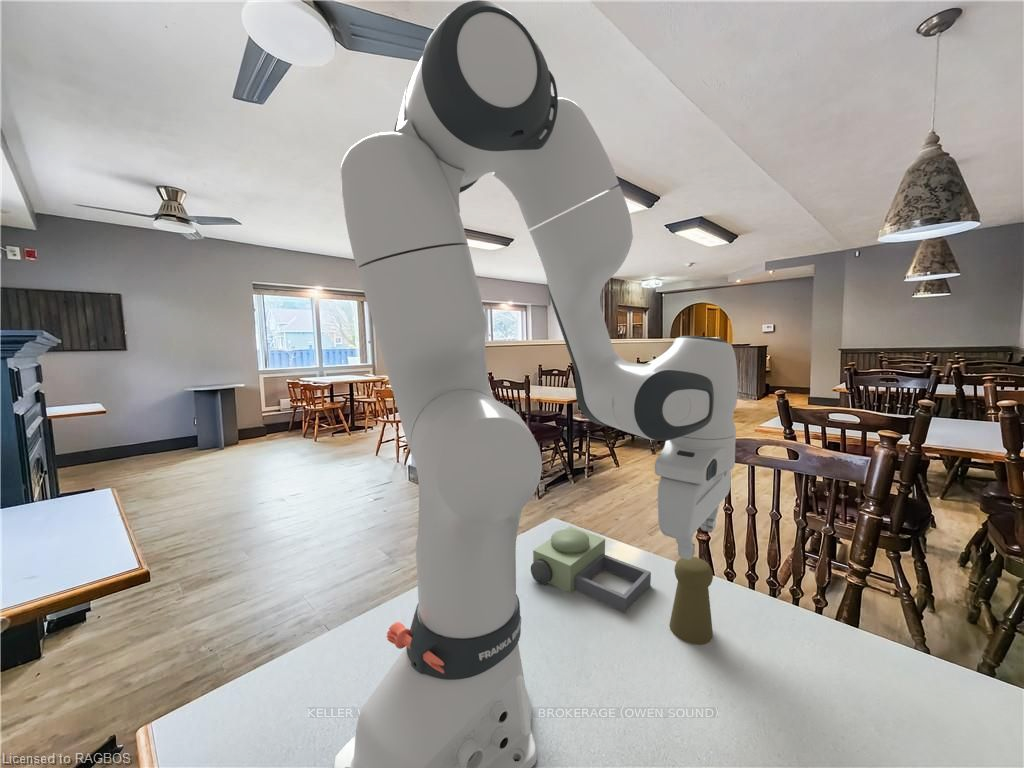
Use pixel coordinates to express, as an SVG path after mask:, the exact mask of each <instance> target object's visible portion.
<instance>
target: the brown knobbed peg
mask: <svg viewBox="0 0 1024 768" xmlns="http://www.w3.org/2000/svg"><path fill="white" fill-rule="evenodd" d="M674 574H675V579H676V580H677V584H676V585H677V586H676V589H675V594H674V595H675V596H674V600H673V605H672V609H671V615H670V620H669V629H670V632H671V633H672V634H673V636H675V637H676V638H678V639H679V640H680V641H682V642H685V643H687V644H691V645H697V646H699V645H706V644H708V643H710V642H711V641H712V640H713V636H714V632H713V631H714V630H713V623H712V621H713V619H712V611H711V601H710V591H709V587H710V586H711V585H712V582H713V578H714V573H713V570H712V567H711V566H710V564H709V563H708V562H707V561H706V560H704V559H702V558H699V557H697V556H693V557H692V558H691V559H690V560H687V559H684V558H681V557H679V559H678V560H676V563H675V565H674Z"/></svg>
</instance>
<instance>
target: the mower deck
mask: <svg viewBox="0 0 1024 768" xmlns="http://www.w3.org/2000/svg"><path fill="white" fill-rule="evenodd" d="M532 553H533V559H532V560H533V563H532V564H531V565H530V573H531V576H532V578H533V579H534V581H536V582H537V584H540V585H546V584H547V583H548V584H551V585H552V586H555V587H556V588H559V589H560V590H563V591H565V592H567V593H569V594H571V593H573V592H574V591H575V592H578V593H581V594H582V595H585V596H586V597H589V598H591V599H594V600H596V601H597V602H601V603H603V604H604V605H606V606H608V607H611V608H613V609H615V610H617V611H620V612H622V613H624V614H626V613H627V612H628V611H629V610H630V609H631V608H632V606H633V605H634V604H635V603H636V602H637V601H638V600H639V598H641V597H642V595H644V593H645V592H646V591H647V590H648V589H649V587H650V586H651V583H652V582H651V581H652V580H651V579H652V572H651V571H649V570H647V569H644V568H641V567H638V566H636V565H633V564H631V563H629V562H625V561H623V560H620V559H618V558H615V557H612V556H609V555H606V538H605V537H601V536H598V535H595V534H593V533H591V532H586V531H584V530H581V529H578V528H575V527H573V526H568V527H567V528H565V529H560V530H557V531H554V533H552V535H551V537H550V539H549V540H547V541H545V542H544V543H542V544H540V545H539V546H538V547H536V548H535V549H533V551H532ZM602 571H607V572H609V573H612V574H614V575H617V576H619V577H621V578H625V579H627V580H629V581H631V582H634V583H633V584H632V585H631V586H630V587H629V588H628V589H627V590H626V591H625V592H624V593H622V592H619V591H617V590H615V589H612V588H610V587H607V586H605V585H603V584H600V583H599V582H595V581H593V579H594V578H596V577H597V575H599V574H600V573H601V572H602Z"/></svg>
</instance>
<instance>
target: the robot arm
mask: <svg viewBox="0 0 1024 768" xmlns="http://www.w3.org/2000/svg"><path fill="white" fill-rule="evenodd" d="M557 88H558V87H557V84H556V80H555V77H554V75H553V73H552V72H551V71H550V69H549V66H548V64H547V61H546V59H545V57H544V54H543V51H542V49H541V48H540V46H539V44H538V43H537V41H536V40H535V38H534V37H533V35H532V34H531V33H530V31H529V30H528V29H527V27H526V26H525V25H524V24H523V22H522V21H520V20H519V19H518V17H516V16H515V15H514V14H513V13H512V12H510V11H509V10H507V9H506V8H505V7H503V6H501V5H499V4H497V3H494V2H491V1H488V0H470V1H467V2H465V3H462V4H460V5H459V6H457V7H456V8H454V9H452V10H451V11H450V12H448V14H447V15H446V16H445V17H443V19H441V21H440V22H439V23H438V24H437V26H436V27H435V28H434V30H433V31H432V32H431V34H430V36H429V37H428V39H427V41H426V43H425V46H424V49H423V53H422V56H421V58H420V59H419V61H418V63H417V65H416V67H415V70H414V71H413V72H412V75H410V78H409V80H408V83H407V85H406V88H405V91H404V95H403V99H402V103H401V106H400V111H399V114H398V117H397V119H396V121H395V125H394V131H387V132H384V131H383V132H379V133H374V134H372V135H369V136H367V137H365V138H362V139H361V140H359V141H357V142H356V143H355V144H353V145H352V146H351V147H350V148H349V149H348V151H346V153H345V155H344V157H343V159H342V161H341V165H340V184H341V185H340V187H341V196H342V205H343V210H344V211H343V212H344V217H345V223H346V228H347V234H348V238H349V242H350V247H351V250H352V255H353V259H354V262H355V263H354V264H355V266H356V269H357V273H358V276H359V280H360V283H361V286H362V290H363V293H364V297H365V300H366V304H367V307H368V310H369V313H370V317H371V319H372V320H371V321H372V324H373V326H374V329H375V330H374V331H375V333H376V336H377V339H378V343H379V344H378V345H379V347H380V352H381V354H382V358H383V361H384V365H385V369H386V372H387V373H386V374H387V377H388V380H389V383H390V386H391V387H390V388H391V392H392V394H393V398H394V401H395V405H396V408H397V412H398V415H399V419H400V423H401V426H402V429H403V430H402V431H403V434H404V437H405V440H406V444H407V446H408V448H409V450H410V454H411V455H412V458H413V461H414V465H415V469H416V474H417V480H418V518H417V519H418V521H417V522H418V524H417V536H416V537H417V538H416V540H415V541H416V542H415V556H416V558H415V559H416V560H415V561H416V577H417V579H416V581H417V598H418V600H417V601H418V603H417V605H416V607H415V611H414V615H413V617H412V622H411V625H410V629H409V628H407V627H405V625H404V624H403V623H402V622H400V621H397V622H394V623H393V624H391V626H389V628H388V629H389V630H387V633H386V634H387V635H386V639H387V641H389V643H391V644H393V645H395V647H396V648H397V649H398V650H402V649H403V651H402V652H401V653H400V654H399V656H397V658H396V660H395V661H394V663H393V664H392V665H391V666H390V668H389V670H388V671H387V673H386V674H385V675H384V676H383V678H382V680H381V681H380V682H379V684H378V685H377V686H376V687H375V689H374V691H373V692H372V693H371V695H370V696H369V697H368V699H367V700H366V701H365V703H364V704H363V705H362V708H361V710H360V712H359V715H358V719H357V723H356V729H355V734H354V735H353V737H351V738H350V740H349V741H348V742H346V744H345V745H343V746H342V748H341V749H340V750H339V751H338V752H337V753H336V755H335V756H334V759H333V765H332V768H533V767H534V766H535V764H536V762H537V761H538V760H537V759H538V753H537V752H538V751H537V746H536V740H535V738H534V734H533V732H532V722H533V710H532V709H533V708H532V702H531V698H530V696H529V694H528V691H527V687H526V683H525V682H526V681H525V677H524V676H525V675H524V669H523V663H522V659H521V652H520V646H519V641H520V638H521V634H522V633H521V632H522V631H521V630H522V629H521V627H522V616H521V604H520V599H519V596H518V594H517V570H516V569H517V565H516V564H517V561H516V560H517V558H516V557H517V555H516V554H517V553H516V552H517V550H516V548H517V538H518V531H519V525H520V521H521V517H522V513H523V509H524V507H525V506H526V505H527V504H528V503H529V501H530V500H531V499H532V497H533V496H534V494H535V493H536V491H537V488H538V486H539V484H540V480H541V476H542V470H543V459H542V454H541V450H540V447H539V444H538V441H537V440H536V439H535V437H534V435H533V433H532V431H531V430H530V428H529V427H528V425H527V424H526V423H525V421H524V420H523V419H522V417H521V415H520V414H518V413H517V412H516V411H515V410H514V409H513V408H511V407H509V406H508V405H507V404H504V403H502V402H501V401H499V400H497V399H496V398H495V396H494V394H493V392H492V389H491V385H490V381H489V375H488V374H489V373H488V365H487V354H486V353H487V351H486V348H487V347H486V334H487V330H488V329H487V327H488V325H487V317H486V313H485V309H484V305H483V302H482V296H481V294H480V293H481V292H480V289H479V284H478V280H477V275H476V271H475V268H474V264H473V259H472V256H471V251H470V247H469V243H468V239H467V235H466V231H465V228H464V225H463V221H462V218H461V214H460V213H461V209H460V208H461V207H460V194H461V193H463V192H464V191H466V190H468V189H470V188H471V187H472V186H473V185H474V184H476V183H477V182H478V181H479V179H481V178H482V177H483V176H485V175H486V174H487V175H488V174H490V173H492V176H493V177H495V178H496V179H498V180H499V181H500V182H501V183H502V184H503V185H504V186H505V187H506V188H507V189H508V191H510V193H511V194H512V196H513V198H514V199H515V200H516V202H517V203H518V206H519V209H520V212H521V215H522V217H523V220H524V222H525V225H526V226H527V229H528V230H529V231H528V232H529V234H530V236H531V239H532V241H533V243H534V246H535V248H536V251H537V253H538V256H539V259H540V261H541V264H542V267H543V270H544V273H545V276H546V277H545V279H546V282H547V283H546V284H547V289H548V293H549V298H550V300H551V303H552V304H551V305H552V308H553V311H554V314H555V317H556V320H557V322H558V325H559V326H558V327H559V329H560V332H561V335H562V338H563V340H564V342H565V346H566V348H567V352H568V354H569V357H570V360H571V363H572V368H573V372H574V379H575V397H576V401H577V406H578V407H579V411H581V413H582V415H584V417H585V418H586V419H587V420H589V421H590V422H591V423H593V424H597V425H600V426H605V427H610V428H614V429H617V430H620V431H623V432H626V433H627V434H631V435H635V436H638V437H641V438H645V439H646V440H649V441H658V442H664V445H663V448H662V450H661V452H660V453H659V454H658V456H657V458H656V460H655V462H654V474H655V476H659V480H658V485H657V519H658V527H659V530H660V532H661V533H662V534H663V535H664V536H666V537H669V538H672V539H675V541H676V543H677V555H678V557H679V558H684V559H687V560H690V559H691V558H692V557H694V556H695V554H696V552H695V549H696V548H695V547H696V544H695V543H693V538H694V535H695V533H696V532H697V531H698V530H699V528H700V529H701V531H704V532H707V533H712V532H714V530H715V529H716V524H717V522H716V521H717V516H718V511H719V509H720V504H721V503H722V502H723V501H724V500H725V498H726V497H727V496H728V495H729V493H730V489H731V486H732V485H731V484H732V483H731V482H732V481H731V474H732V470H733V469H734V467H736V466H735V463H736V462H735V461H736V443H737V442H736V440H737V439H736V438H737V429H736V426H735V421H734V414H735V413H734V412H735V409H736V406H737V404H738V391H739V390H738V387H739V386H738V383H739V382H738V380H739V379H738V366H737V358H736V353H735V350H734V347H733V346H732V344H730V343H729V342H728V341H726V340H724V339H721V338H717V337H711V336H710V337H709V336H699V335H682V336H678V337H675V339H674V340H673V342H672V345H671V346H670V347H669V348H668V349H667V350H666V351H665V352H664V353H662V354H661V355H659V356H658V357H656V358H654V359H652V360H650V361H648V362H646V363H637V362H636V363H635V362H630V361H627V360H625V359H624V358H622V357H621V356H620V355H619V354H617V352H616V351H615V350H614V348H613V345H612V341H611V337H610V334H609V330H608V328H607V324H606V321H605V318H604V317H605V316H604V313H603V310H602V307H601V296H602V295H601V294H602V291H603V288H604V287H605V285H606V284H607V283H608V282H609V280H610V279H611V278H612V277H614V276H615V274H616V273H617V272H618V271H619V269H620V268H621V267H622V266H623V264H624V263H625V261H626V258H627V256H628V255H629V251H630V250H631V247H632V246H631V245H632V243H633V239H634V237H633V235H634V234H633V225H632V219H631V215H630V214H631V213H630V210H629V207H628V204H627V202H626V198H625V195H624V193H623V190H622V188H621V185H619V184H620V183H619V179H618V177H617V175H616V173H615V170H614V167H613V164H612V162H611V161H610V158H609V156H608V153H607V152H606V150H605V148H604V146H603V144H602V142H601V139H600V137H599V136H598V134H597V133H596V130H595V129H594V126H593V125H592V123H591V122H590V121H589V119H588V117H587V116H586V114H585V112H584V110H583V109H582V108H581V107H580V106H579V105H578V103H577V102H575V101H573V100H571V99H568V98H565V97H559V96H558V89H557ZM617 185H618V186H617ZM612 188H613V189H612ZM609 189H610V190H609ZM606 191H607V192H606ZM596 196H597V197H596ZM590 199H591V200H590ZM572 208H573V209H572ZM566 211H567V212H566ZM554 217H555V218H554ZM552 218H553V219H552ZM542 223H543V224H542ZM540 224H541V225H540ZM536 226H537V227H536ZM532 228H533V229H532ZM530 229H531V230H530ZM515 760H516V761H515ZM517 760H518V761H517Z"/></svg>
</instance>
